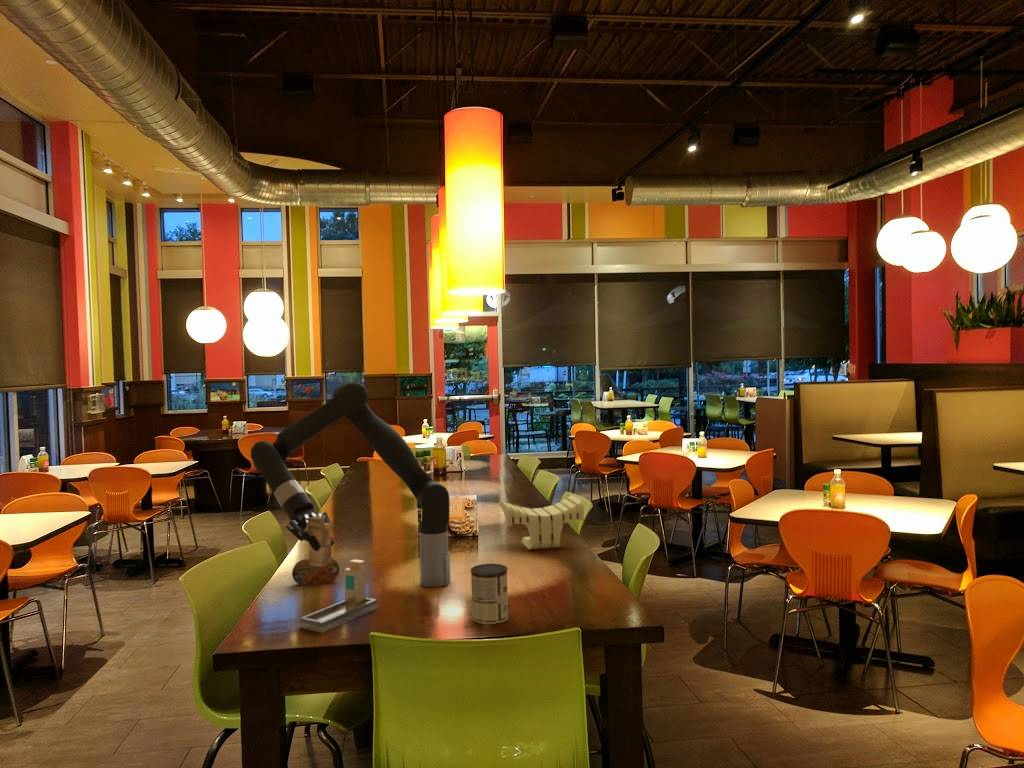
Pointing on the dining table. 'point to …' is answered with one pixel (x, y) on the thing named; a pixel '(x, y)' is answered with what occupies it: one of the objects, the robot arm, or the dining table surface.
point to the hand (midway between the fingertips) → (325, 546)
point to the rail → (343, 602)
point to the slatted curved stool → (544, 521)
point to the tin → (314, 573)
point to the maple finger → (324, 538)
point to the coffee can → (489, 593)
